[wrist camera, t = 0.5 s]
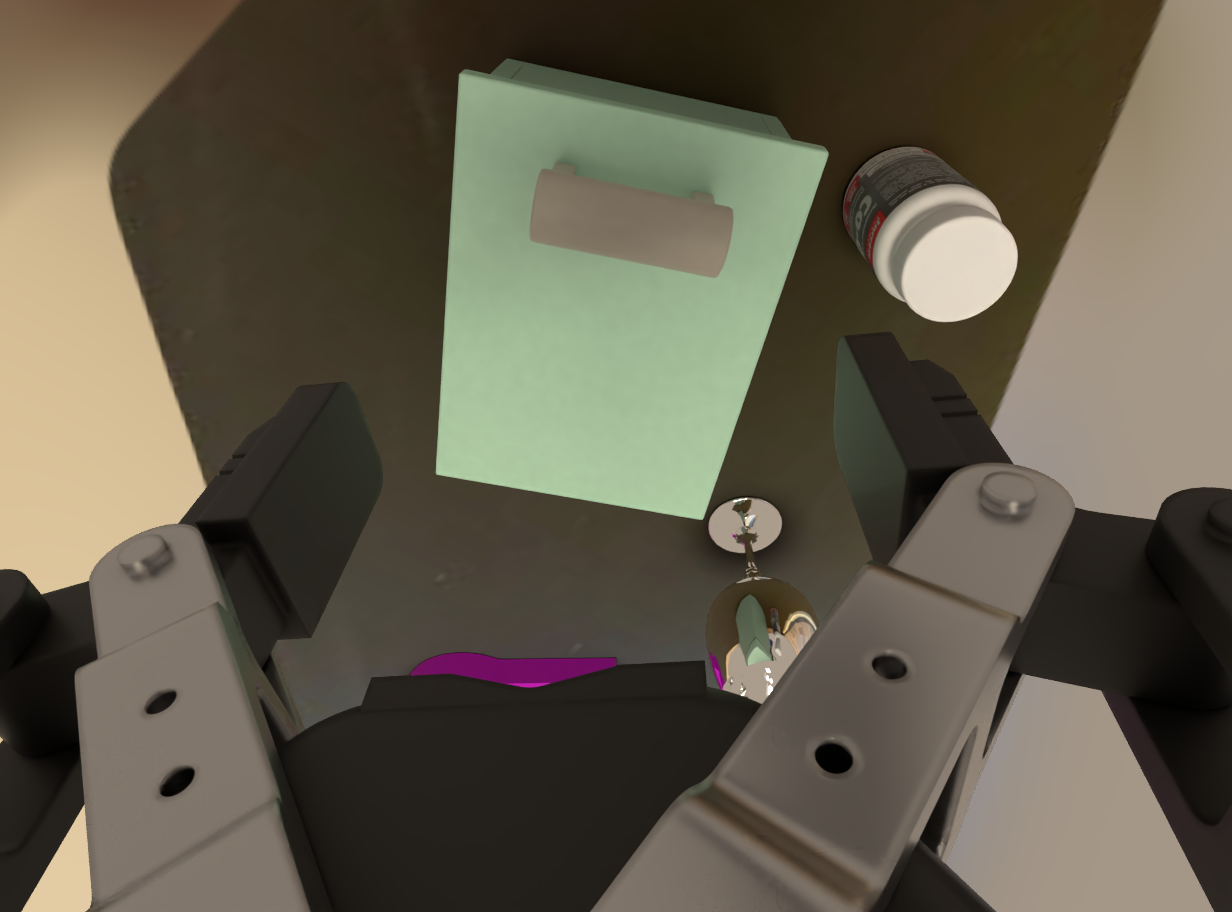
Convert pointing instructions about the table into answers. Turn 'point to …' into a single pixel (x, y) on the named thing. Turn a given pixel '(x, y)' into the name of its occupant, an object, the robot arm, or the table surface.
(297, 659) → the table surface
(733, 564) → the table surface
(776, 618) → the wineglass
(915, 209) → the pill bottle
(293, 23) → the table surface
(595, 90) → the bin
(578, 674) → the tape dispenser
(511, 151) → the bin lid
